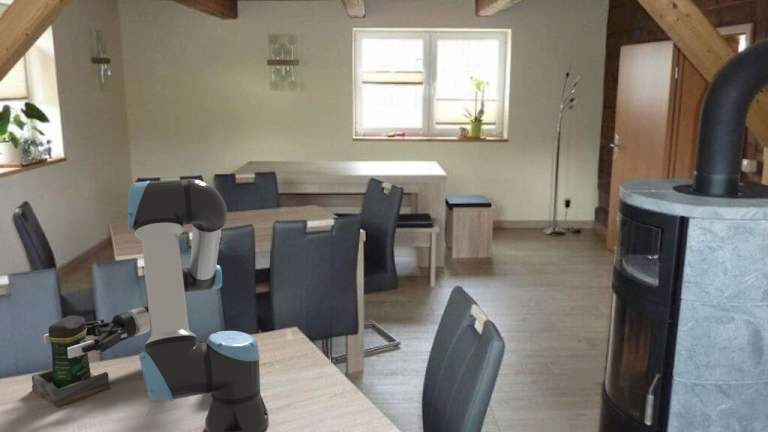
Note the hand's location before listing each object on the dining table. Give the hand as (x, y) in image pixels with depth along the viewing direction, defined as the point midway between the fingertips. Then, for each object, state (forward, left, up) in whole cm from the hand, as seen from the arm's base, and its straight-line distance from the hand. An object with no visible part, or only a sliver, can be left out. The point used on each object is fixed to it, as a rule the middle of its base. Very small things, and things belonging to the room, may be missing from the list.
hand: (56, 346), depth 172 cm
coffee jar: (0, -4, -12) cm, 13 cm away
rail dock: (0, -3, -13) cm, 14 cm away
